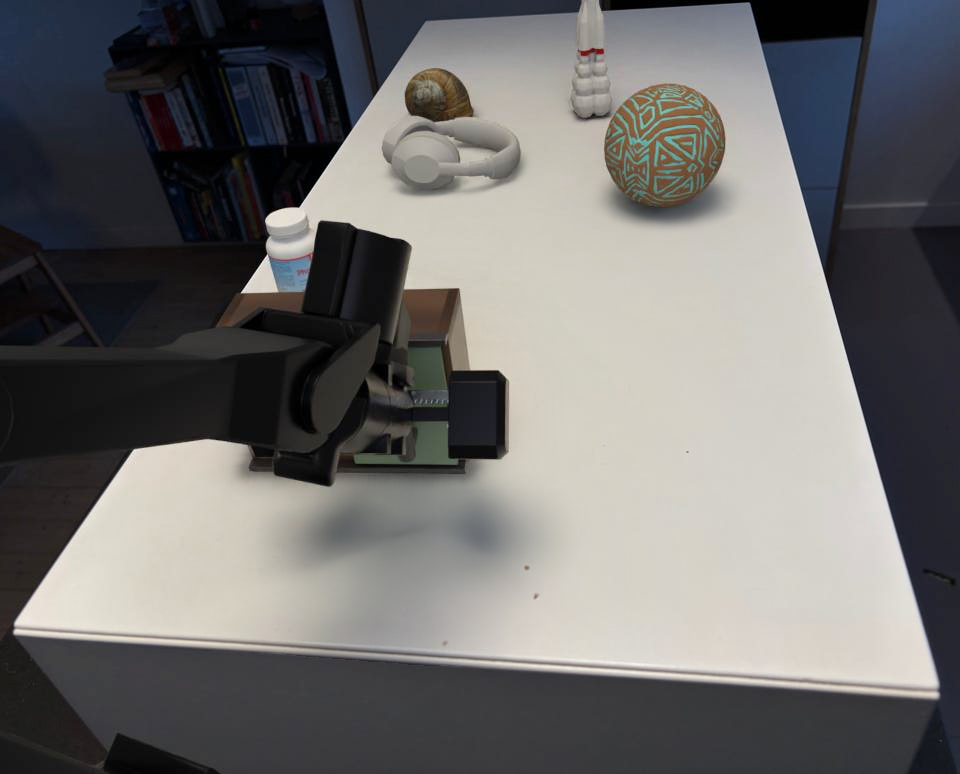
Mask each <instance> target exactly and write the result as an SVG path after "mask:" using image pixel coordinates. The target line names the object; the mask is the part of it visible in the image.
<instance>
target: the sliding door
mask: <svg viewBox="0 0 960 774" xmlns="http://www.w3.org/2000/svg"><path fill="white" fill-rule="evenodd" d="M407 351H408V353H409V354H408V366H409V367H411V368H413V369H414V387H407V390H446V389H447V382H446V376H445V370H444V363H443V357H442V350H441V346H408V350H407ZM412 403H413V401H412ZM413 407H447V403H446V401H445V402H444V405H442V404H441V402H440V401H439V404H438V405H437V404H436V403H435V401H434V403H433V405H431V404H430V402H429V401H428V404H427V405H426V404H425V403H424V401H423V403H422V405H420V404H419V401H418V402H417V405H415V404H414V403H413ZM353 456H354V460H355V464H443V465H458V461H459V459H450V458H448V429H447V422H413V425H412V428H411V430H410V432H409V434H408V436H407V437H406V455H353Z"/></svg>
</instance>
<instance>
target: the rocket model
mask: <svg viewBox="0 0 960 774" xmlns="http://www.w3.org/2000/svg"><path fill="white" fill-rule="evenodd" d="M575 28H576V29H575V42H574V43H575V46H576V47H577V51H576V55H575V57H576V60H575V62H574V67H573V68H574V71H575V72H574V74H573V75H572V80H571V84H572V89H571V94H570V102H571V106H572V108H573V109H574V112H575V113H576V114H577V115H578V116H579V117H580V118H582V119H586V118H590V117H591V116H592V115H595V116H597V117H601V116H605V115H606V114H608V112H609V111H610V110H611V107H612V104H613V103H612V102H613V97H612V94H611V91H610V89H611V88H610V87H611V81H610V76H609V75H608V74H607V73H608V65H607V63H606V61H605V60H606V56H605V48H607V37H606V36H607V34H606V25H605V18H604V15H603V12H602V9H601V6H600V0H581V4H580V7H579V10H578V13H577V17H576V27H575Z"/></svg>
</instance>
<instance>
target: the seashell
mask: <svg viewBox="0 0 960 774" xmlns="http://www.w3.org/2000/svg"><path fill="white" fill-rule="evenodd" d="M404 103H405V107H406V110H407V112H408V114H409V116H419V117H423V118H426V119H428V120H431V121H433V122H442V121H449V120H455V118H460V117H472V115H474V108H473V106H472V102H471V98H470V95H469V91H468V90H467V88H466V86H465V84H464V83H463V82H462V81H461V80H460V78H459V77H458V76H457V75H455V74H454V73H453V72H451V71H449V70H448V69H444V68H439V67H431V68H426V69H424V70H423V69H422V71H421V70H420V71H419V72H417V73H415V75H413V76H412V78H411V79H409V82H408V83H407V85H406V87H405V90H404Z"/></svg>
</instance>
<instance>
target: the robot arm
mask: <svg viewBox="0 0 960 774" xmlns="http://www.w3.org/2000/svg"><path fill="white" fill-rule="evenodd" d="M412 251H413V246H412V245H411V243H409V242H408V241H406V240H405V239H402V238H398V237H390V236H387V235H385V234H381V233H378V232H375V231H370V230H367V229H362V228H357V227H356V226H354V225H353V224H352V223H351V222H342V221H333V220H322V219H321V220H320V221H318V223H317V227H316V236H315V242H314V251H313V255H312V260H311V265H310V269H309V274H308V279H307V283H306V288H305V293H304V297H303V302H302V307H301V311H300V312H296V311H289V310H282V309H275V308H268V307H259V308H257V309H256V310H254V311H253V312H251V313H250V314H249V315H247V316H246V317H244V318H243V319H241V320H240V321H238V322H237V323H236V324H234V325H233V326H231V327H230V326H222V327H216V326H215V327H216V328H215V327H212V328H207V329H202V330H198V331H192V332H188V333H183V334H181V335H180V336H179V337H177V338H176V339H175V340H174V341H173V342H172V343H170V344H165V345H161V346H156V347H102V346H101V347H100V346H99V347H98V346H93V347H92V346H46V345H43V346H42V345H41V346H40V345H0V469H3V468H10V467H11V468H12V467H17V466H24V465H25V466H26V465H31V464H41V463H45V462H54V461H60V460H68V459H75V458H82V457H90V456H96V455H97V456H98V455H103V454H104V455H105V454H111V453H118V452H125V451H133V450H140V449H147V448H154V447H162V446H169V445H177V444H182V443H190V442H198V441H205V440H211V441H219V442H226V443H232V444H239V445H245V446H247V447H249V448H248V451H249V450H250V451H251V453H252V454H253V455H254V457H257V458H273V462H272V466H273V471H272V473H273V475H274V476H275V477H278V478H283V479H288V480H291V481H292V480H293V481H296V482H297V481H299V482H302V483H307V484H312V485H317V486H322V487H327V488H331V487H333V486H334V483H335V479H336V474H337V472H336V470H337V465H338V460H339V455H406V437H407V436H408V434H409V432H410V430H411V428H412V425H413V422H447V429H448V458H450V459H468V460H478V461H479V460H480V461H481V460H483V461H484V460H489V461H490V460H493V461H494V460H495V461H497V460H498V461H499V460H500V461H501V460H502V459H503V458H505V456H506V455H507V454H508V453H509V452H510V446H509V445H510V380H509V379H508V378H507V377H506V376H505V375H504V374H503V373H502V372H501V370H499V369H470V370H452V371H451V374H450V376H449V387H448V388H447V389H446V390H407V387H414V369H413V368H411V367H409V366H408V354H409V353H408V351H407V350H408V341H409V332H410V329H411V319H410V316H409V314H408V311H407V309H406V306H405V304H404V302H403V299H402V295H403V291H404V289H405V284H406V280H407V276H408V275H407V274H408V270H409V265H410V261H411V255H412ZM412 401H413V403H414V404H415V405H417V402H418V401H419V404H420V405H422V403H423V401H424V403H425V404H426V405H427V404H428V401H429V402H430V404H431V405H433V403H434V401H435V403H436V404H437V405H438V404H439V401H440V402H441V404H442V405H444V402H445V401H446V403H447V407H413V403H412ZM250 451H249V452H250ZM251 453H250V454H251ZM0 774H222V773H221V772H219V771H218V770H217V769H215V768H214V767H211V766H208V765H205V764H204V763H200V762H197V761H195V760H192V759H190V758H188V757H184V756H183V755H179V754H177V753H174V752H172V751H169V750H166V749H163V748H161V747H158V746H155V745H153V744H151V743H148V742H146V741H143V740H141V739H137V738H135V737H132V736H130V735H127V734H125V733H122V732H119V731H118V732H117V733H116V735H115V737H114V739H113V741H112V744H111V746H110V748H109V751H108V753H107V755H106V757H105V759H104V760H102V761H100V762H98V763H97V764H95V765H94V764H87V763H86V762H83V761H80V760H77V759H75V758H72V757H71V756H67V755H65V754H63V753H61V752H57V751H55V750H53V749H50V748H48V747H46V746H43V745H41V744H38V743H36V742H33V741H31V740H28V739H26V738H24V737H21V736H18V735H16V734H13V733H11V732H9V731H6V730H3V729H2V728H0Z"/></svg>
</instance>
